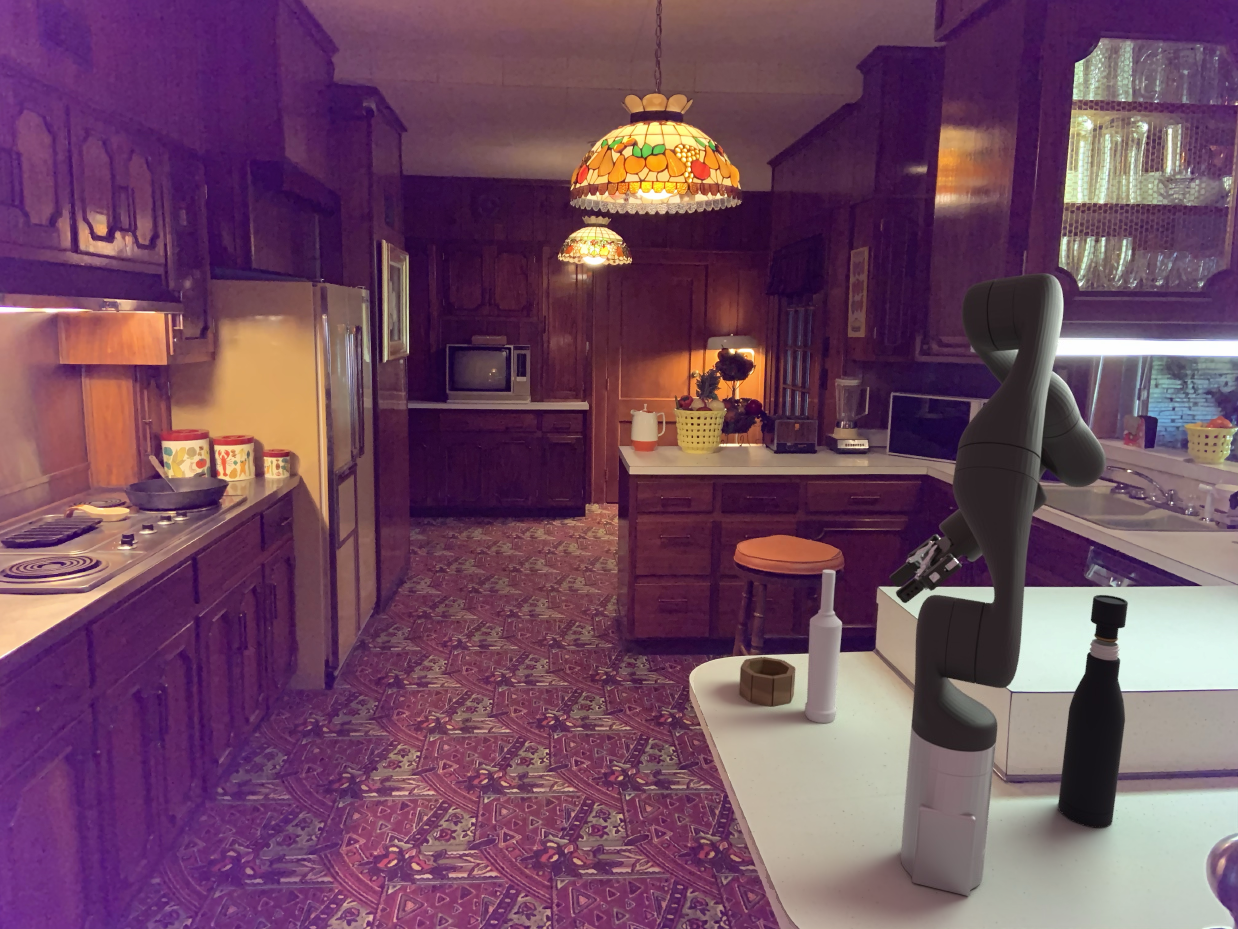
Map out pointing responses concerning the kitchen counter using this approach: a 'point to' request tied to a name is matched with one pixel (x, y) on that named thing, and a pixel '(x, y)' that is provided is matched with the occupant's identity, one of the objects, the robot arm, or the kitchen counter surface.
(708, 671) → the kitchen counter surface
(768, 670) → the wooden cup
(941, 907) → the kitchen counter surface
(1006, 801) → the kitchen counter surface
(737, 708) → the kitchen counter surface
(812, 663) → the bottle
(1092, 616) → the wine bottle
